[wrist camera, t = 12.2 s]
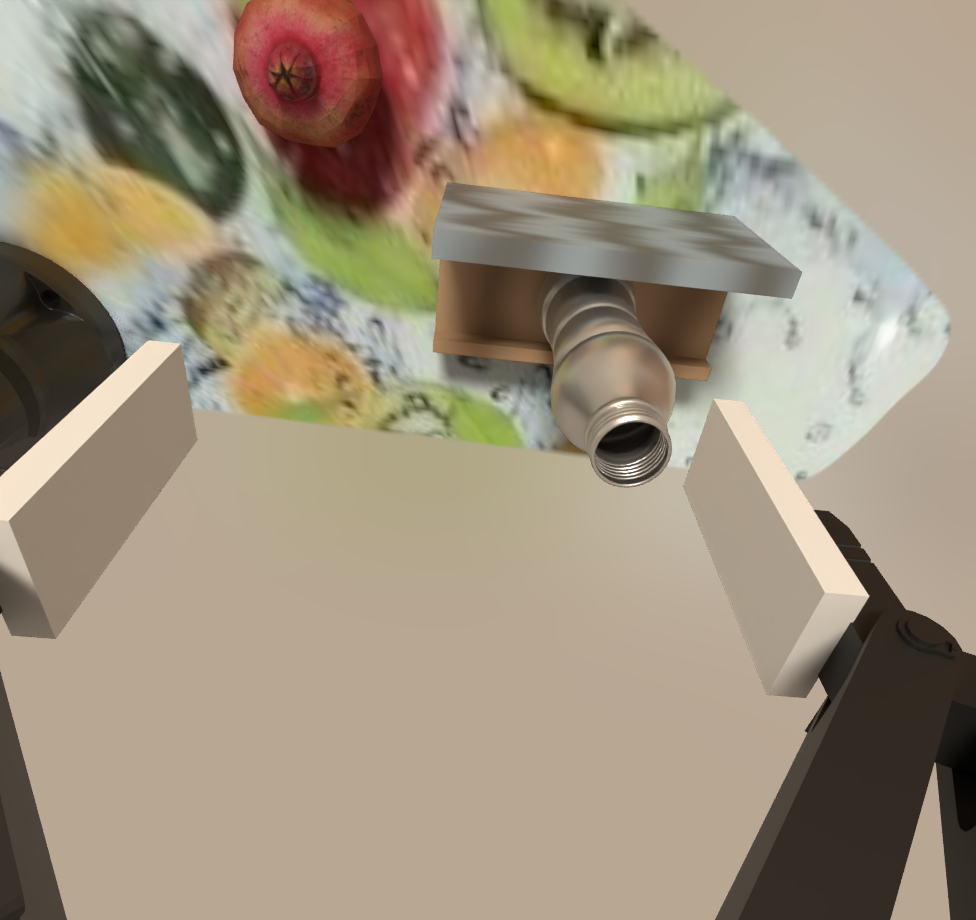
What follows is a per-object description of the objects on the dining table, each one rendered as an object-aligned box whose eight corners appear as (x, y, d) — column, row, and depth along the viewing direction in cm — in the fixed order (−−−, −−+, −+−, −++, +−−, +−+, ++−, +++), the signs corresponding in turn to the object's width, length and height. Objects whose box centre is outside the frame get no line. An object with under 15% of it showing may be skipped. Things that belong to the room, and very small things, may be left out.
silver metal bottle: (640, 251, 43) (729, 397, 27) (613, 343, 47) (677, 521, 31) (545, 236, 43) (578, 375, 26) (526, 330, 47) (544, 503, 30)
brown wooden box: (437, 327, 50) (422, 403, 40) (447, 182, 44) (433, 229, 34) (691, 354, 51) (738, 435, 41) (734, 216, 45) (802, 272, 35)
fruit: (285, -49, 37) (224, -69, 29) (412, 34, 39) (390, 38, 31) (242, 92, 41) (178, 110, 33) (360, 160, 43) (328, 193, 35)
